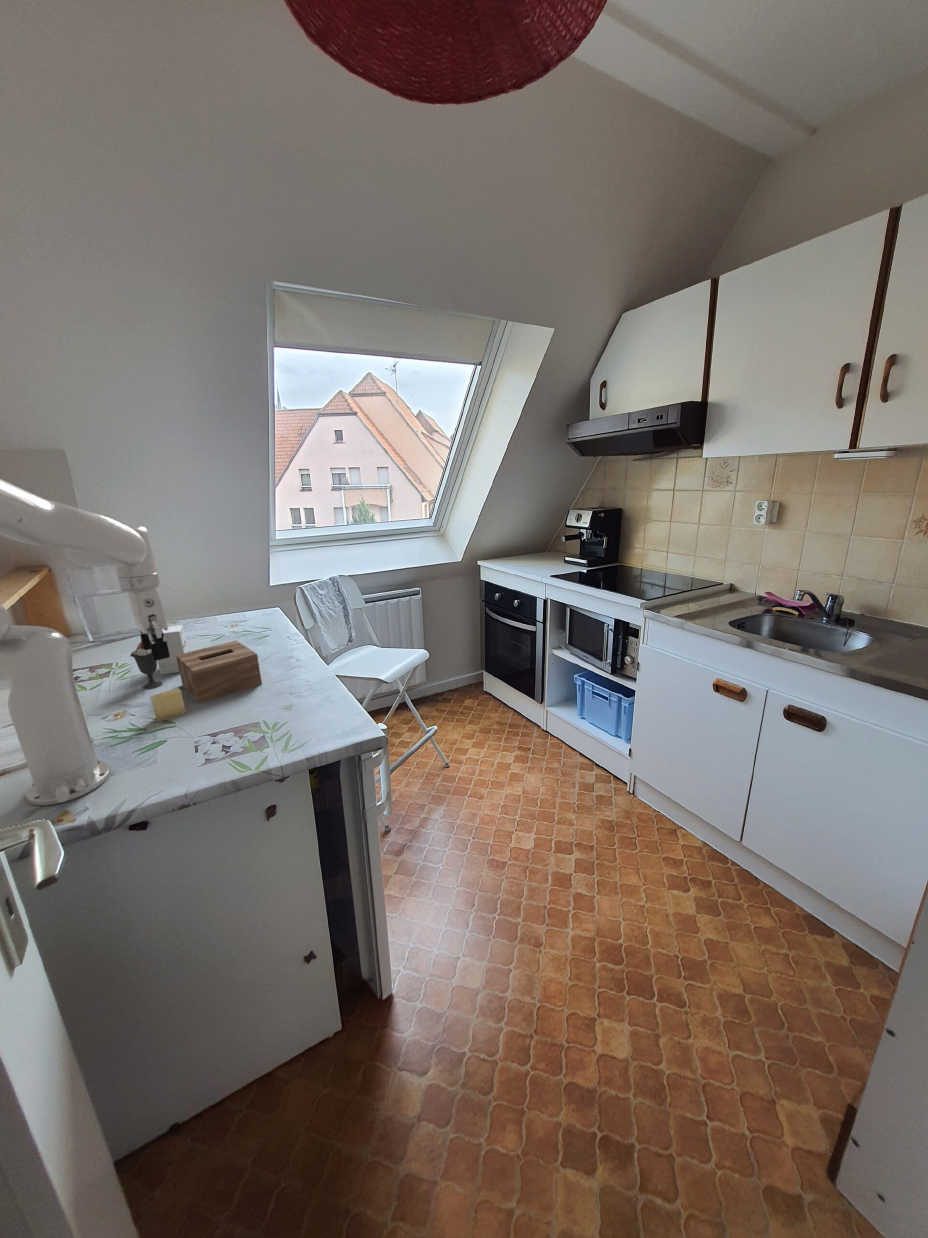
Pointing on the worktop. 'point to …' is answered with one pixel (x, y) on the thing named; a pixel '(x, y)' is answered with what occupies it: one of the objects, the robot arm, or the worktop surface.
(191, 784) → the worktop surface
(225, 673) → the brown slotted wooden box
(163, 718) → the tan rectangular block
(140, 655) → the sundae
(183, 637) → the supplement box
